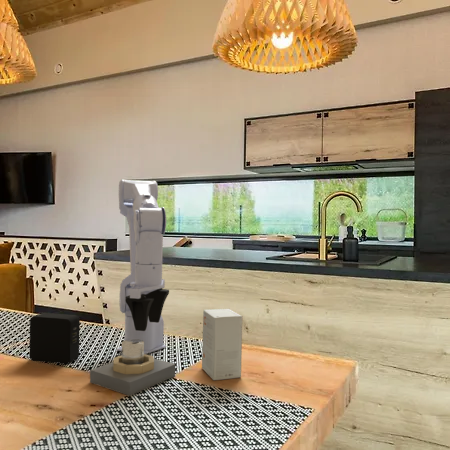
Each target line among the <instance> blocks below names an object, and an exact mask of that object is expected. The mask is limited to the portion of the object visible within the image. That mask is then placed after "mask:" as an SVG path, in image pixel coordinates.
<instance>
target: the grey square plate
mask: <svg viewBox="0 0 450 450" xmlns="http://www.w3.org/2000/svg"><path fill="white" fill-rule="evenodd" d="M174 377H176V364H175V363H172V362H168V361H165V360H161V359H157V358H155V357H154V356H153V355H150V354H144V363H142V364H135V365H126V364H123V363H122V354H121V355H119V356H116V357H113V362H109V363H106V364H105V365H101V366H97V367H95V368H92V369H90V370H89V383H91V384H94V385H96V386H99V387H102V388H106V389H108V390H111V391H114V392H118V393H121V394H124V395H126V396H133V395H135V394H137V393H139V392H142V391H144V390H146V389H149V388H151V387H153V386H155V385H158V384H160V383H162V382H164V381H167V380H169V379H172V378H174Z"/></svg>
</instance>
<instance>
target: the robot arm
mask: <svg viewBox="0 0 450 450" xmlns="http://www.w3.org/2000/svg"><path fill="white" fill-rule="evenodd" d="M158 187H159V186H158V182H157V181H156V180H132V179H131V180H130V179H123V178H121V179H120V180H119V183H118V208H119V209H118V210H120V211H119V213H120V214H121V215H122V216H124V217H125V218H126V220H127V224H128V229H129V230H128V233H129V235H128V236H129V258H130V259H129V260H130V261H129V262H130V265H129V266H130V274H128V276H126V277H125V278H123V279H122V280H121V282H120V285H119V311H120V312H121V313H122V314H124V341H125V340H130V339H139V340H143V341H144V354H146V355H149V354H150V353H154V352H156V351H159V350H162V349H164V348H166V347H167V345H166V344H164V336H165V335H164V330H165V329H164V327H165V322H164V318H163V316H162V313H163V310H164V309H163V308H164V305H165V302H166V300H167V297H168V295H169V294H170V289H167V288H166V287H165V285H166V284H165V283H166V282H165V281H166V279H165V278H164V279H163V252H164V251H163V250H164V249H163V248H164V247H163V246H164V244H163V243H164V241H163V240H164V235H165V233H166V228H167V214H166V208H165V207H159V204H158V197H159V188H158ZM164 288H165V289H164ZM116 351H119V352H122V346H120V347H117V348H116Z"/></svg>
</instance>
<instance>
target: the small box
mask: <svg viewBox="0 0 450 450" xmlns="http://www.w3.org/2000/svg"><path fill="white" fill-rule="evenodd" d="M202 322H203V323H202V349H201V350H202V351H201V352H202V353H201V356H202V357H201V368H202V370H203V371H204V372H205V373H206V374H207V375H208V376H209V377H210V378H211V379H212V381H220V380H231V379H238V378H241V377H242V359H243V358H242V353H243V351H242V349H243V315H241V314H239V313H238V312H236V311H233V310H232V309H230V308H216V309H213V308H212V309H211V308H210V309H203V317H202Z"/></svg>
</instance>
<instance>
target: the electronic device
mask: <svg viewBox="0 0 450 450" xmlns="http://www.w3.org/2000/svg"><path fill="white" fill-rule="evenodd" d="M80 322H81V319H80V316H79V315H76V314H65V313H51V312H41V313H37V314H36V315H34V314H33V316H31V317H30V319H29V360H31V361H35V362H43V363H44V362H45V363H53V364H61V365H67V364H70V363H72V362H73V361H74V360H76V359H78V358H79V356H80V325H81V324H80Z"/></svg>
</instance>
